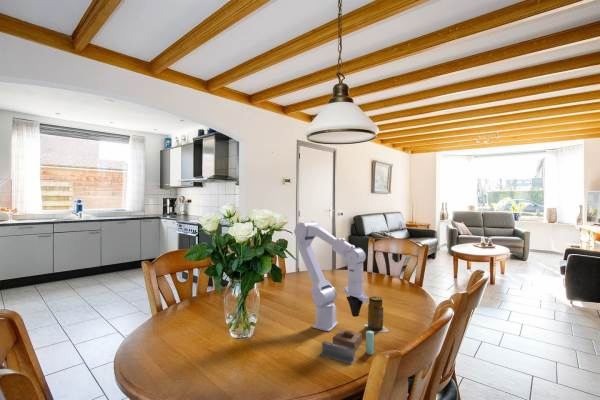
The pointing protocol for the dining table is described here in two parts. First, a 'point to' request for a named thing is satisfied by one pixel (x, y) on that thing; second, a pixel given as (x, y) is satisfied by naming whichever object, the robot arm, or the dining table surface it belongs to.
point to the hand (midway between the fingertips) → (355, 315)
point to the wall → (338, 352)
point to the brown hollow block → (348, 339)
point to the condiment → (375, 315)
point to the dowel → (369, 342)
